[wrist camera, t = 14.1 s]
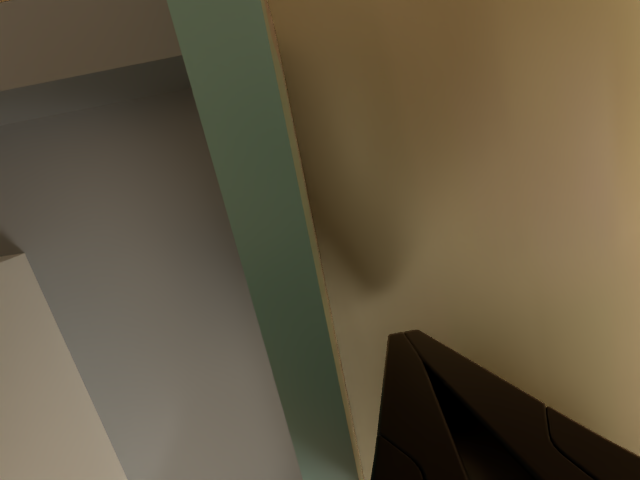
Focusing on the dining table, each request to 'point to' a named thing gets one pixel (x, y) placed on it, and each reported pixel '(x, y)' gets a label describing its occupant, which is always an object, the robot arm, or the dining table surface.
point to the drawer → (174, 234)
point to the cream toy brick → (43, 392)
